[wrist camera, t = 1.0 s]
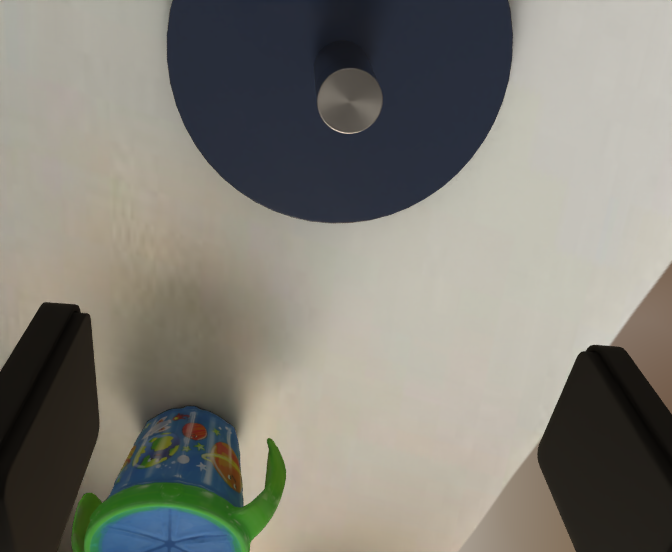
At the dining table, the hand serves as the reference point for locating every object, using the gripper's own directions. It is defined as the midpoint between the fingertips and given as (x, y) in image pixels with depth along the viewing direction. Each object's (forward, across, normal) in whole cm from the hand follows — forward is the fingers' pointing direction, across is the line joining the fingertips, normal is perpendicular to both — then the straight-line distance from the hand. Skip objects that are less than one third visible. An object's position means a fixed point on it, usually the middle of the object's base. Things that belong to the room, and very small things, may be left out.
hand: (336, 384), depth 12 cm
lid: (+26, -2, 0) cm, 26 cm away
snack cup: (+26, +6, +29) cm, 40 cm away
